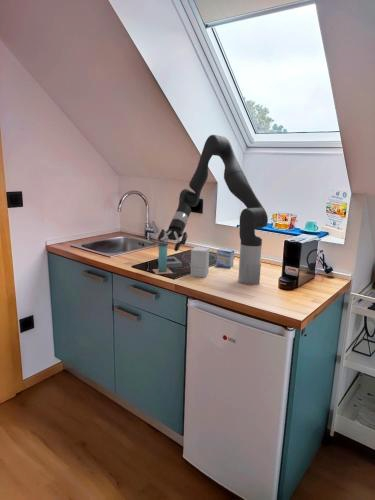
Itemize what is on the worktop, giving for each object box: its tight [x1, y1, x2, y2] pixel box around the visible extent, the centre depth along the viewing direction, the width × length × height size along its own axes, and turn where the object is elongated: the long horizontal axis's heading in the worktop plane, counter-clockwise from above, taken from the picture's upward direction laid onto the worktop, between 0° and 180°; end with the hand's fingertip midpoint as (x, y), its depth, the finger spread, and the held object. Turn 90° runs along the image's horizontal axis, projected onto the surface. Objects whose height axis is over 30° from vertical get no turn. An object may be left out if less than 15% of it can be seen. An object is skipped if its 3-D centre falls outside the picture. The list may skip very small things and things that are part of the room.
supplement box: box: [190, 246, 210, 278], centre depth 177 cm, size 7×7×13 cm
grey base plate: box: [157, 256, 183, 269], centre depth 193 cm, size 14×9×2 cm, turn 19°
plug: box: [157, 241, 169, 272], centre depth 179 cm, size 5×5×14 cm
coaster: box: [152, 268, 173, 275], centre depth 180 cm, size 8×8×1 cm
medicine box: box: [215, 248, 235, 269], centre depth 193 cm, size 8×4×9 cm, turn 62°
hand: (167, 249), depth 182 cm, fingers open, 8 cm apart
